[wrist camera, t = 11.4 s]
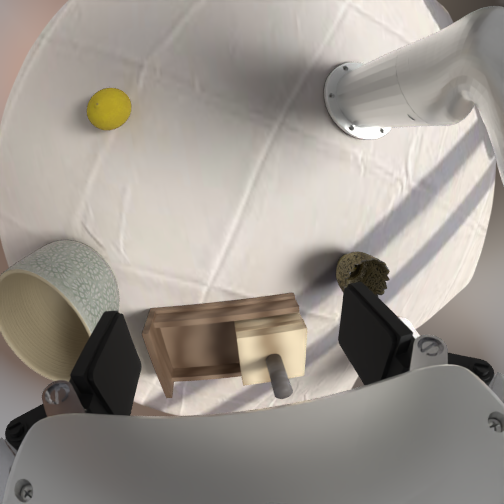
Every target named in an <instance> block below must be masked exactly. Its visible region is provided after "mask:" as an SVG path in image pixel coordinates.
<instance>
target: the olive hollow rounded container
mask: <svg viewBox="0 0 504 504" xmlns="http://www.w3.org/2000/svg"><path fill="white" fill-rule="evenodd" d="M388 274H389V269H388V268H387V266H386V264H385V263H384V262H382V261H380V260H379V259H377V258H375V257H373V256H371V255H368V254H366V253H363V252H352V253H349V254H345V255H343V256H342V257H340V259H339V260H338V263H337V269H336V278H337V281H338V284H339V286H340V288H341V290H342V291H343V293H344V289H345V288H346V287H347V286H348V284H350V283H356V282H362V283H363V284H364V285H365V286H367V287H368V288H369V289H370V290H371V291H372V292H373V293H374V294H375V295H376V296H377V297H378V295H383V294H384V290H385V289H387V285H386V282H385V281H388V280H389V278H388V276H387V275H388Z"/></svg>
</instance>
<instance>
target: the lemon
mask: <svg viewBox="0 0 504 504" xmlns="http://www.w3.org/2000/svg"><path fill="white" fill-rule="evenodd" d="M130 112H131V102H130V99H129V97H128V96H127V94H125V93H124V92H123V91H121V90H119V89H116V88H106V89H102V90H100V91H98V92H97V93H95V94H94V95H93V96H92V97H91V99H90V101H89V103H88V105H87V116H88V119H89V121H90V122H91V123H92V124H93V125H94V126H95V127H97V128H99V129H102V130H112V129H116V128H118V127H120V126H121V125H123V124H124V123H125V122H126V120H127V119H128V117H129V115H130Z"/></svg>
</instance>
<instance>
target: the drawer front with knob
mask: <svg viewBox="0 0 504 504" xmlns="http://www.w3.org/2000/svg"><path fill="white" fill-rule="evenodd" d="M234 323H235V332H236V340H237V347H238V355H239V362H240V370H241V377H242V381H243V386H244V385H251V384H259V383H265V382H271V383H272V387H273V391H274V394H275V397H276V398H279V399H284V398H287V397H289V396H290V395H291V394H292V392H293V390H292V387H291V385H290V382H289V378H294V377H300V376H304V370H305V357H306V341H307V327H306V325H305V323H304V320H303V319H302V317H301V315H300V313H299V312H296V313H289V314H282V315H276V316H269V317H261V318H254V319H246V320H238V321H234Z"/></svg>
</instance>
